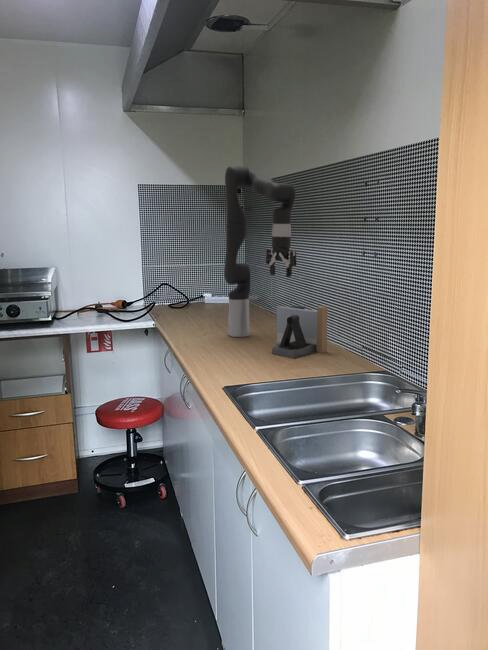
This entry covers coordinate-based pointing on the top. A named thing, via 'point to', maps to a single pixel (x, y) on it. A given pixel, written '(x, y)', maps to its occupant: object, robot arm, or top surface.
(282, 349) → the keeper
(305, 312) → the door
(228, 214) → the robot arm
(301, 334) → the door stopper
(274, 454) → the top surface
